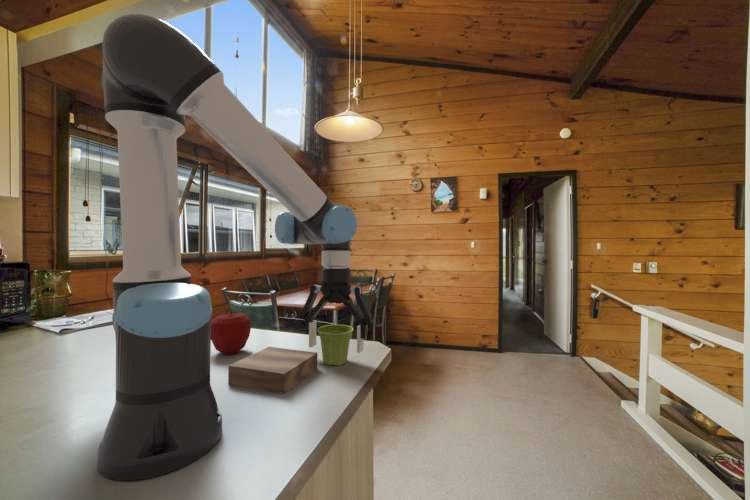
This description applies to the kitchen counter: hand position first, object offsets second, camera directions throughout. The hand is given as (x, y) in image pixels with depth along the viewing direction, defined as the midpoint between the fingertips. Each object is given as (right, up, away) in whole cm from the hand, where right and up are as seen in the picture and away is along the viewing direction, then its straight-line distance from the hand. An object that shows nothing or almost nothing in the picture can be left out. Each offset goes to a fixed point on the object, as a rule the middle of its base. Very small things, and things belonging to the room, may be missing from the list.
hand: (335, 348), depth 82 cm
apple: (-31, -3, +6) cm, 31 cm away
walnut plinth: (-13, -3, -10) cm, 16 cm away
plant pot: (0, -4, 0) cm, 4 cm away
